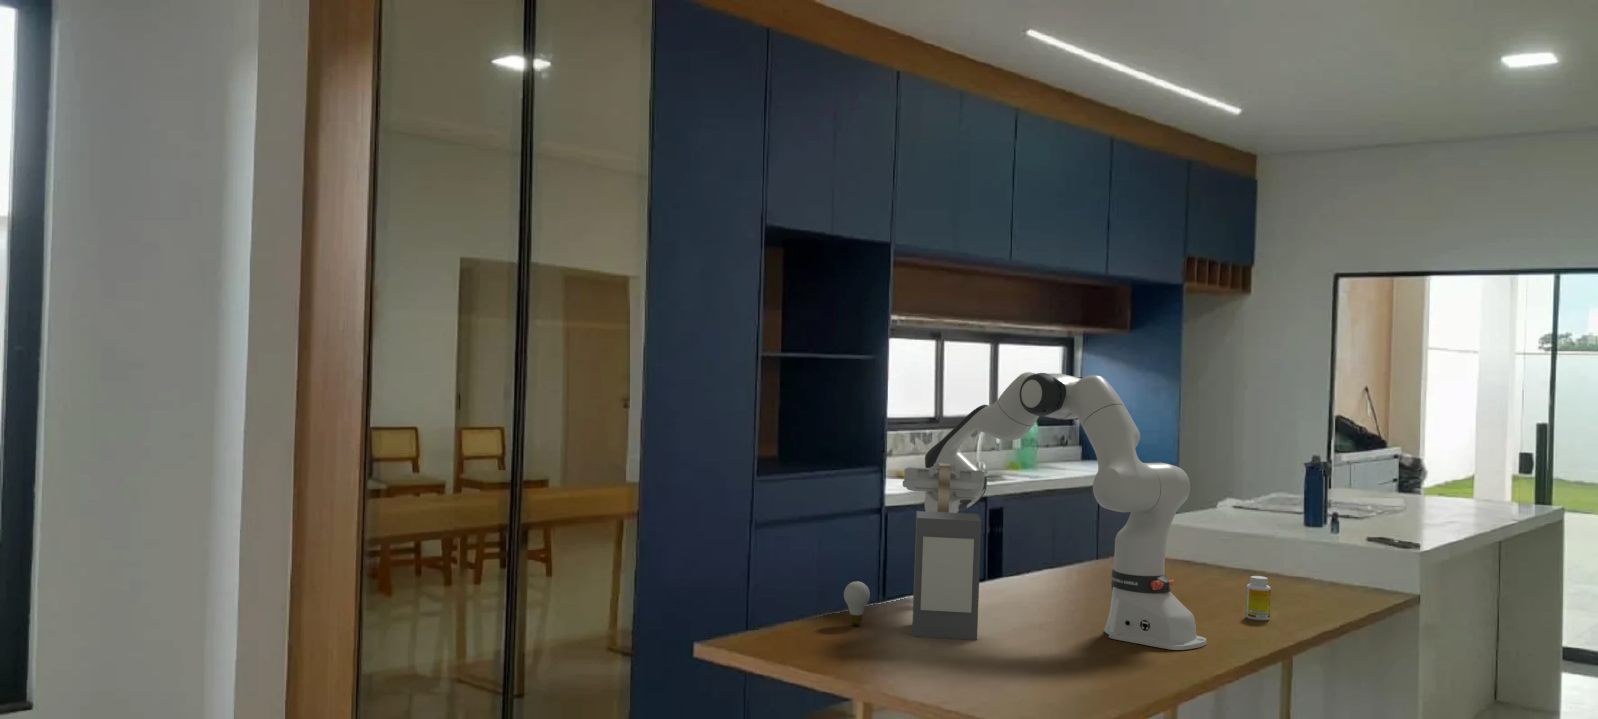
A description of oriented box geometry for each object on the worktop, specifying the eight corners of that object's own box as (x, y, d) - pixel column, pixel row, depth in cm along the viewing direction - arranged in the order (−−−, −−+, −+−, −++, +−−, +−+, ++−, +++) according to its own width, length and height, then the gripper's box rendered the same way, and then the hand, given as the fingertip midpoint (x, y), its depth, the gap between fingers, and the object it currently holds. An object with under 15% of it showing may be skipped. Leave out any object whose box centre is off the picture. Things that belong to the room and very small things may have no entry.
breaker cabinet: (912, 624, 275) (916, 511, 275) (973, 627, 274) (978, 513, 274) (912, 636, 263) (917, 518, 263) (977, 640, 262) (981, 521, 262)
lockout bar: (936, 462, 302) (936, 467, 298) (953, 463, 301) (954, 467, 297) (932, 547, 305) (932, 552, 301) (950, 547, 305) (950, 553, 301)
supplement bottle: (1273, 621, 293) (1275, 579, 293) (1251, 620, 293) (1252, 579, 293) (1263, 616, 299) (1265, 575, 299) (1241, 615, 298) (1243, 574, 298)
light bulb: (866, 629, 268) (868, 584, 268) (840, 627, 270) (842, 582, 270) (870, 623, 274) (872, 580, 274) (845, 621, 275) (846, 578, 275)
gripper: (902, 476, 313) (903, 453, 301) (982, 479, 311) (986, 457, 299) (902, 498, 310) (902, 476, 298) (982, 502, 308) (986, 480, 296)
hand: (945, 466), depth 298 cm, fingers closed on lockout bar, 3 cm apart
